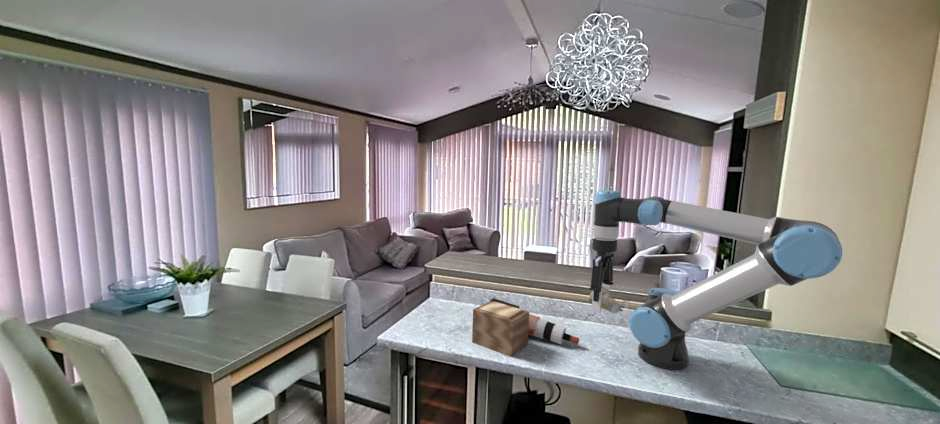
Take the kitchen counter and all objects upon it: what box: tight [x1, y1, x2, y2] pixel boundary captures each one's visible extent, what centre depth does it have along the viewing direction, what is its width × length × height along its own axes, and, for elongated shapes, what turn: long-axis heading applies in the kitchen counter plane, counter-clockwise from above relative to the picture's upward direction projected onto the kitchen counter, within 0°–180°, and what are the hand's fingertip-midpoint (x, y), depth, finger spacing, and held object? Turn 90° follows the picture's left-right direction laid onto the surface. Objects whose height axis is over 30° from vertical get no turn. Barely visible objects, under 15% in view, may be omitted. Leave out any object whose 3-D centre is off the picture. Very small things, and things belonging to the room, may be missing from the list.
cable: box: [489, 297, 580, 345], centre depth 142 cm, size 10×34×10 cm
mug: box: [588, 287, 623, 315], centre depth 126 cm, size 8×10×10 cm
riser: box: [471, 300, 530, 358], centre depth 135 cm, size 16×11×13 cm
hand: (600, 306), depth 128 cm, fingers closed on mug, 7 cm apart
